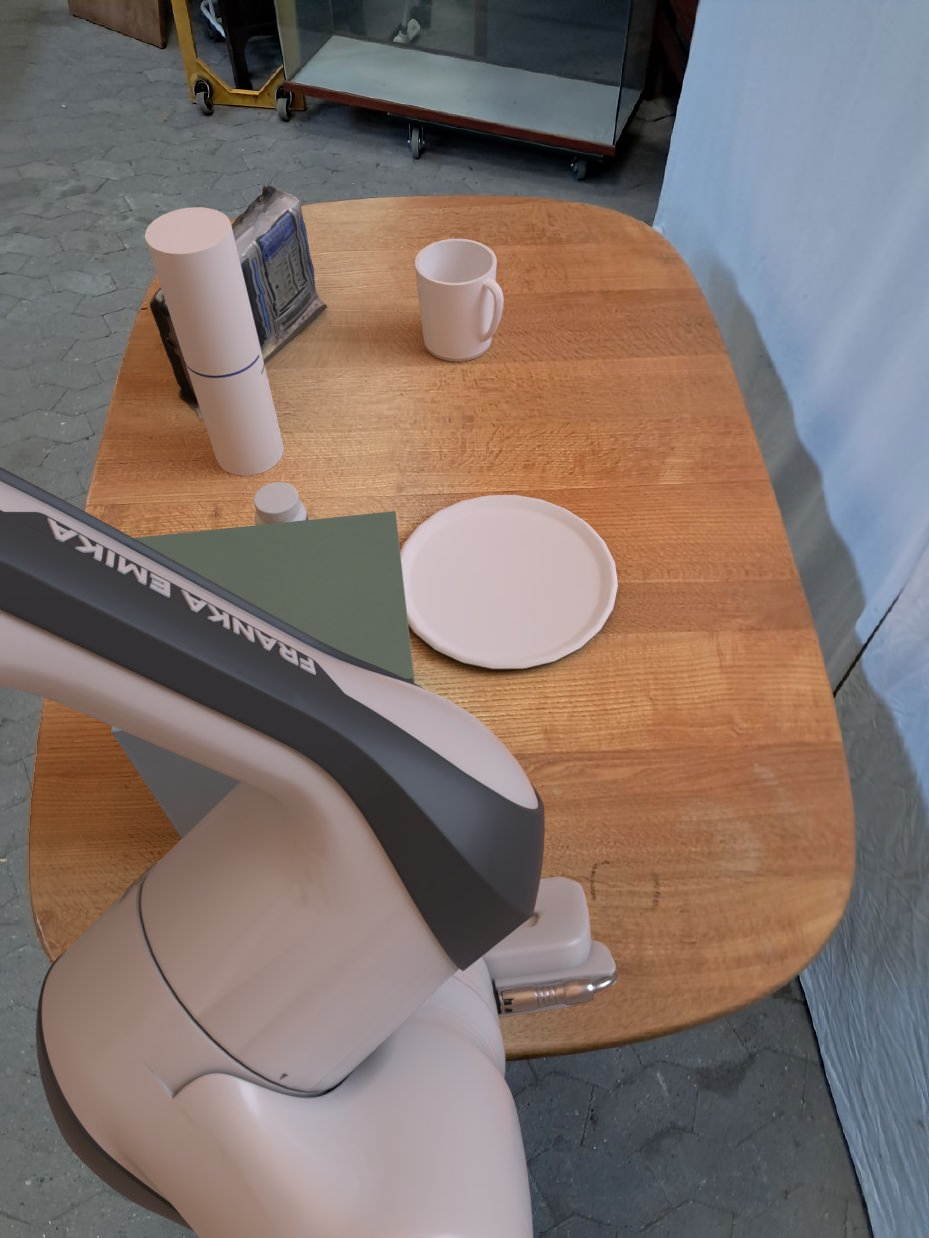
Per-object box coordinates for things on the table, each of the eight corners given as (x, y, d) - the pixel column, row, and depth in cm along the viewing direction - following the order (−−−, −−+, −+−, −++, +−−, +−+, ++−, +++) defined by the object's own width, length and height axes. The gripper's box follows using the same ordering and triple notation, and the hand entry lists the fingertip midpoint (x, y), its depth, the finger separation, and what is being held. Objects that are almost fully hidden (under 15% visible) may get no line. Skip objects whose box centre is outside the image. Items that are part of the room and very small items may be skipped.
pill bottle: (304, 582, 85) (289, 521, 78) (258, 571, 86) (239, 510, 79) (323, 545, 88) (310, 484, 81) (279, 535, 89) (262, 473, 82)
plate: (347, 600, 84) (345, 592, 83) (481, 472, 94) (481, 463, 93) (533, 717, 76) (533, 709, 75) (658, 564, 86) (660, 555, 85)
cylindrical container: (203, 465, 95) (127, 243, 75) (238, 422, 99) (176, 201, 79) (262, 483, 93) (201, 261, 73) (296, 439, 97) (247, 216, 77)
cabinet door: (438, 900, 67) (424, 779, 51) (191, 932, 66) (99, 818, 50) (429, 819, 71) (414, 682, 55) (196, 847, 70) (111, 717, 54)
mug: (404, 344, 107) (397, 264, 98) (454, 309, 111) (451, 229, 102) (475, 383, 102) (475, 302, 94) (525, 345, 106) (528, 264, 98)
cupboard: (429, 817, 71) (413, 678, 55) (196, 845, 70) (111, 712, 54) (413, 669, 79) (395, 510, 63) (205, 692, 78) (133, 537, 62)
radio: (199, 421, 99) (161, 301, 87) (147, 390, 102) (102, 271, 90) (341, 317, 110) (324, 197, 98) (289, 292, 113) (267, 174, 101)
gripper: (623, 925, 41) (565, 816, 54) (159, 985, 39) (220, 858, 53) (633, 1054, 41) (574, 914, 55) (180, 1117, 40) (235, 958, 54)
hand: (398, 887), depth 54 cm, fingers open, 8 cm apart
